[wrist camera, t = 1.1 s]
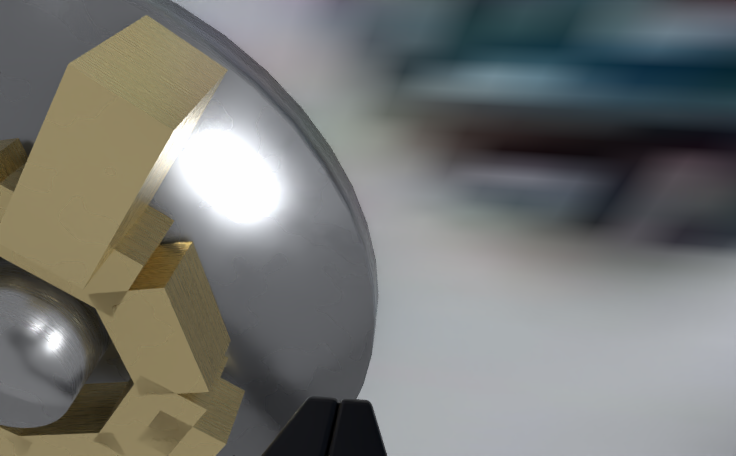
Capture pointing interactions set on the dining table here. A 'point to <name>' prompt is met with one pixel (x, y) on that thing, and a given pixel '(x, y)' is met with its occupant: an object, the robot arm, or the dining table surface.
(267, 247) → the grey round shallow disc
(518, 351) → the dining table surface
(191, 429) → the gold block ring
